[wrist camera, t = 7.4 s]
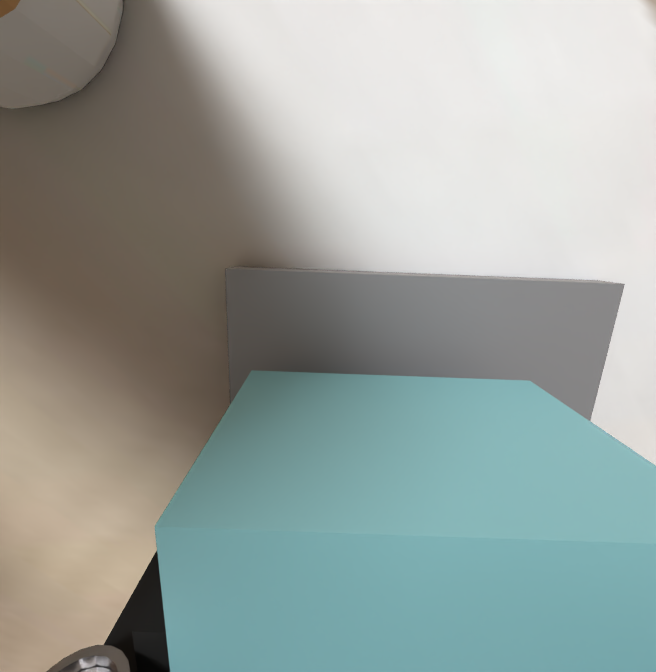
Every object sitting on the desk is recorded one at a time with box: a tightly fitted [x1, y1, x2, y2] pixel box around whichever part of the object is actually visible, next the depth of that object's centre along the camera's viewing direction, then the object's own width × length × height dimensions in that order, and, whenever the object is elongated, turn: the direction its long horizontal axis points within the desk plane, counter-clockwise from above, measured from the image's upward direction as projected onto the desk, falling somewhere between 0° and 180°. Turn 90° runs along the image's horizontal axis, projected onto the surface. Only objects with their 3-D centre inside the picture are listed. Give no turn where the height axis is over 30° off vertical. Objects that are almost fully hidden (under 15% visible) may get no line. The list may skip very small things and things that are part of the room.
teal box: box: [155, 370, 656, 672], centre depth 7 cm, size 7×7×6 cm
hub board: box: [225, 267, 625, 421], centre depth 10 cm, size 16×11×5 cm
